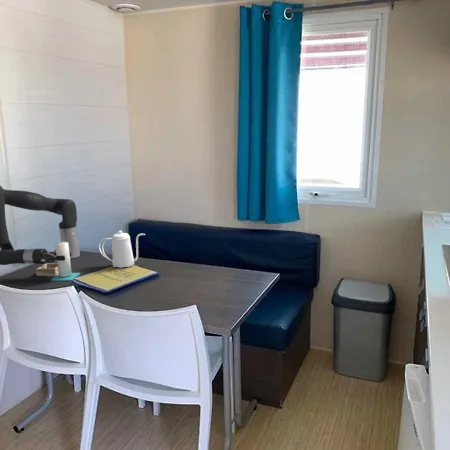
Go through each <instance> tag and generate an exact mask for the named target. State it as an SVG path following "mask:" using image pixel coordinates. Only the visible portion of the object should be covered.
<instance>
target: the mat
mask: <svg viewBox="0 0 450 450" xmlns="http://www.w3.org/2000/svg"><path fill="white" fill-rule="evenodd" d="M80 275H81V272H72V275H70V276H67V277H60V276H59V274H58V275H56V276H53V278H52V279H51V282H53V281H55V282H61V281H62V282H63V281H64V282H65V281H67V282H69V281H72V280H74V279H75V278H77V277H78V276H80Z"/></svg>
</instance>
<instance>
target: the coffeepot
mask: <svg viewBox="0 0 450 450" xmlns="http://www.w3.org/2000/svg"><path fill="white" fill-rule="evenodd" d="M145 235H146V234H145V233H143V232H142V233H139V234H137V236H136V238H135V248H136V249H135V250H136V251H135V252H136V257H135V259H134V254H133V248H132V242H131V236H130V235H129V233H127V232H123V230H118V231H117V233H114V234H113V235H112V237H107V238H103V239H101V241H100V242H99V245H98V249H99V252H100V254H101V255H102V256H103V257H104V258H105V259H106V260H108V261H111V262H112V267H113V268H115V267H128V268H130V267H129V266H131V267H132V265H133V266H134V265H135V262H136V261H137V260H138V258H139V237H140V236H145ZM108 240H111V245H112V246H111V248H112V249H111V251H112V255H111V256H112V259H111V258H109V257H108V255H106V253H105V251H104V244H105V243H106V241H108ZM102 242H103V243H102ZM101 243H102V245H101ZM101 246H102V247H101ZM101 248H102V249H101Z"/></svg>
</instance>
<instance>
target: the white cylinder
mask: <svg viewBox="0 0 450 450" xmlns="http://www.w3.org/2000/svg"><path fill="white" fill-rule="evenodd" d="M54 246H55V250H56V256H65V260H64V261H56V263H57V264H58V272H59V274H58V275H59V276H60V277H67V276H70V275H72V273H73V272H72V265H71V259H70V254H69V245H68V242H61V241H59V242H55V243H54Z"/></svg>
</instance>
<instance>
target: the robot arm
mask: <svg viewBox="0 0 450 450" xmlns="http://www.w3.org/2000/svg"><path fill="white" fill-rule="evenodd" d="M6 205H7V206H11V207H15V208H18V209H24V210H29V211H35V212H36V211H37V212H38V211H39V212H40V211H41V212H42V211H43V212H44V211H45V212H49V213H54V214H56V215H59V216H61V217H62V219H61V221H60V222H59V223H58V229H59V231H58V232H59V235H60V236H59V238H60V242H68V245H69V254H70V260H71V259H76V258H79V257H80V255H81V253H80V244H79V237H78V229H77V223H78V214H77V204H76V203H75V201H74V200H73V199H68V198H53V197H46V196H44V195H42V194H40V193H37V192H34V191H33V192H32V191H26V190H17V189H14V190H13V189H12V190H11V189H4V188H3V187H2V185H0V265H1V266H7V265H8V266H9V265H15V264H29V265H38V264H39V265H44V264H46V263H55V262H57V261H64V260H65V256H56V249H54V250H52V251H48V250H47V249H46V248H28V249H27V248H20V249H19V248H18V249H16V250H15V248H14V246H13V244H12V241H10V237H9V231H8V227H7V221H6Z"/></svg>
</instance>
